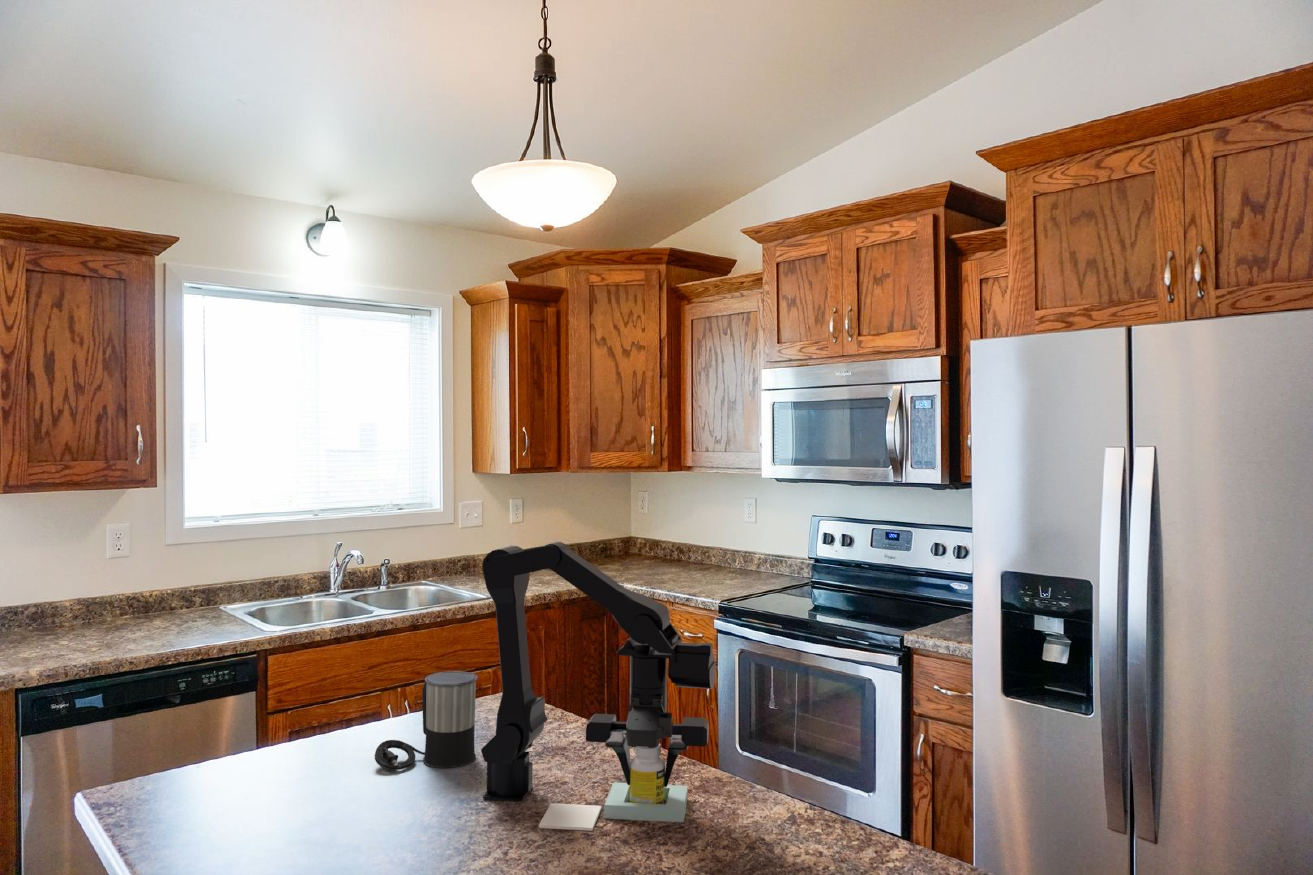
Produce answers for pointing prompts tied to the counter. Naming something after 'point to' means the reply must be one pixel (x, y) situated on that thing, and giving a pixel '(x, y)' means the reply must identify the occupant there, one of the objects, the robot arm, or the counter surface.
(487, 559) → the robot arm
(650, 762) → the supplement bottle
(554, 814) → the white square tile
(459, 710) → the milk frother
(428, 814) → the counter surface
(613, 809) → the holder block
